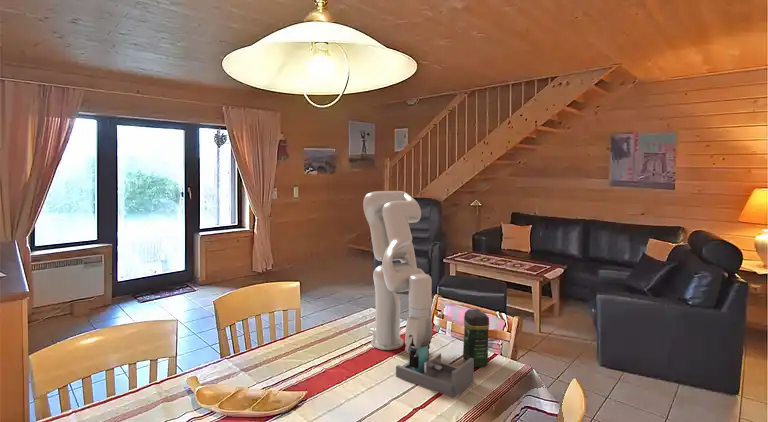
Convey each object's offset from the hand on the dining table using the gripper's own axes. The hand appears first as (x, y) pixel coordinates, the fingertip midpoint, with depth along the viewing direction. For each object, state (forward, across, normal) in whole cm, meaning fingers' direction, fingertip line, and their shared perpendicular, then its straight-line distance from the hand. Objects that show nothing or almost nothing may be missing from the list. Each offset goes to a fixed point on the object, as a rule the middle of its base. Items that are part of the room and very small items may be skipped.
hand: (419, 363), depth 148 cm
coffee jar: (+4, -20, +11) cm, 23 cm away
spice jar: (+2, 0, 0) cm, 2 cm away
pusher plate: (+3, 0, +7) cm, 7 cm away
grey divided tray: (+4, 0, +6) cm, 7 cm away
